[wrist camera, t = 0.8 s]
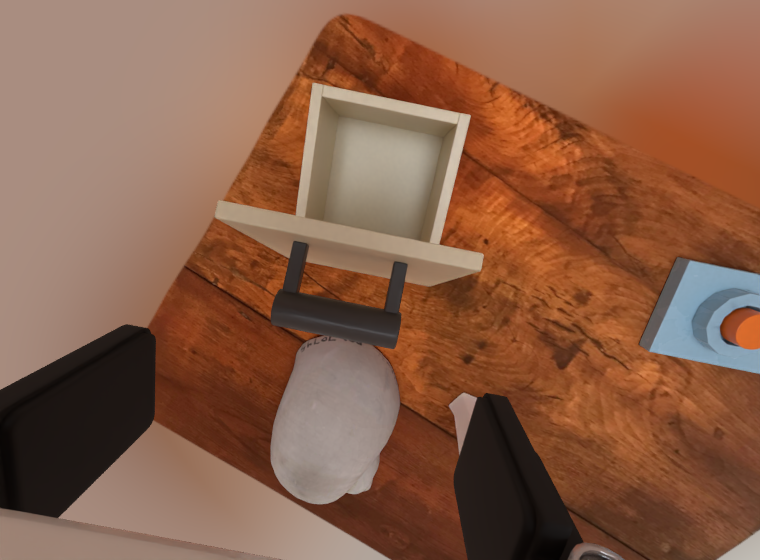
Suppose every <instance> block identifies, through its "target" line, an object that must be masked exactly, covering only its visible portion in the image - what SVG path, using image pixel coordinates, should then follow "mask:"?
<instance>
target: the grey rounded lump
mask: <svg viewBox="0 0 760 560" xmlns="http://www.w3.org/2000/svg"><path fill="white" fill-rule="evenodd" d="M399 406H400V397H399V390H398V385H397V381H396V377H395V374H394V371H393V368H392V367H391V365H390V363H389V361H388V360H387V359H386V358H385V357H384V356H383V355H382V354H381V353H380V352H379V351H378V350H377V349H376V348H375V347H374V346H373V345H370V344H365V343H360V342H355V341H350V340H345V339H340V338H335V337H330V336H321V337H317V338H313V339H311V340H309V341H307V342H305V343H304V344H303V345H302V346H301V348H300V349H299V350H298V352H297V354H296V359H295V365H294V369H293V371H292V373H291V376H290V379H289V382H288V384H287V387H286V389H285V392H284V394H283V397H282V400H281V402H280V405H279V408H278V411H277V414H276V418H275V421H274V425H273V432H272V440H271V463H272V466H273V469H274V472H275V475H276V476H277V478H278V480H279V481H280V483H281V484H282V485H283V486H284V487H285V488H286V489H287V490H288V491H289V492H290V493H291V494H293V495H294V496H295V497H297V498H299V499H301V500H304V501H306V502H309V503H313V504H327V503H330V502H333V501H335V500H337V499H338V498H340V497H341V496H343V495H344V494H345V493H350V494H358V493H360V492H362V491H367V490H369V489H370V487H371V484H372V481H373V477H374V475H375V473H376V471H377V469H378V465H379V457H380V454H379V453H380V452H381V450H382V449H383V447H384V446H385V445H386V443H387V442H388V439H389V437H390V435H391V433H392V431H393V428H394V426H395V423H396V420H397V416H398V411H399Z"/></svg>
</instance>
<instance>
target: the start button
mask: <svg viewBox="0 0 760 560" xmlns="http://www.w3.org/2000/svg"><path fill="white" fill-rule="evenodd" d="M720 333H721V335H722V336H723V338H724V339H726V340H727V341H729V342H732V343H734V344H736V345H738V346H740V347H742V348H744V349H748V350H755V349H759V348H760V312H758V311H756V310H753V309H750V308H739V309H736V310H733V311H732V312H731V313H729V314H728V315H727V316H726V317H724V319H723V321H722V323H721V325H720Z"/></svg>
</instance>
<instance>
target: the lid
mask: <svg viewBox="0 0 760 560" xmlns="http://www.w3.org/2000/svg"><path fill="white" fill-rule="evenodd" d="M215 218H216V219H218V220H220V221H222V222H224V223H226V224H227V225H229V226H231V227H233V228H235V229H236V230H238V231H240V232H242V233H244V234H246V235H247V236H249V237H251V238H253V239H255V240H256V241H258V242H260V243H262V244H264V245H266V246H267V247H269V248H271V249H273V250H275V251H276V252H278V253H280V254H282V255H284V256H286V257H287V258H289V262H288V267H287V272H286V276H285V281H284V285H283V289H280V290H279V291H278V292H277V294H276V296H275V299H274V302H273V306H272V310H271V323H272V325H275V326H280V327H285V328H290V329H295V330H300V331H305V332H310V333H315V334H320V335H325V336H330V337H335V338H340V339H345V340H350V341H355V342H360V343H365V344H370V345H375V346H380V347H385V348H390V349H394V348H395V346H396V343H397V339H398V335H399V330H400V324H401V313H400V312H399V308H400V303H401V298H402V293H403V288H404V282H409V283H414V284H419V285H424V286H429V287H430V286H433V285H436V284H440V283H443V282H446V281H450V280H453V279H456V278H459V277H463V276H466V275H469V274H473V273H476V272H479V271H481V268H482V262H483V257H484V255H483V254H482V253H478V252H473V251H468V250H463V249H458V248H453V247H448V246H443V245H439V244H434V243H429V242H424V241H419V240H414V239H409V238H404V237H399V236H394V235H389V234H384V233H379V232H375V231H370V230H365V229H360V228H355V227H350V226H345V225H340V224H335V223H330V222H325V221H320V220H315V219H311V218H306V217H301V216H296V215H291V214H286V213H281V212H276V211H271V210H266V209H261V208H256V207H251V206H246V205H242V204H237V203H232V202H227V201H222V200H219V201H218V203H217V207H216V211H215ZM306 262H310V263H315V264H320V265H325V266H330V267H335V268H340V269H345V270H349V271H354V272H359V273H364V274H369V275H374V276H379V277H384V278H389V279H390V282H389V287H388V292H387V297H386V302H385V307H384V309H380V308H375V307H370V306H365V305H360V304H355V303H350V302H345V301H340V300H335V299H330V298H325V297H320V296H315V295H310V294H305V293H300V292H299V291H300V286H301V282H302V277H303V273H304V268H305V263H306Z"/></svg>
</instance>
